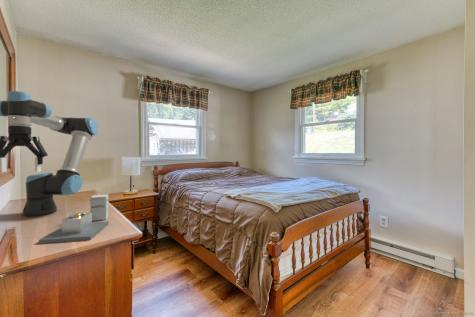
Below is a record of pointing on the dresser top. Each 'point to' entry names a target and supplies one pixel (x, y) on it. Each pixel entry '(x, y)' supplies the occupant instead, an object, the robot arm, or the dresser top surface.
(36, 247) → the dresser top surface
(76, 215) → the peg
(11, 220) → the dresser top surface
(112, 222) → the dresser top surface
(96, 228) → the board
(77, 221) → the grey rectangular box
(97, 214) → the supplement box
